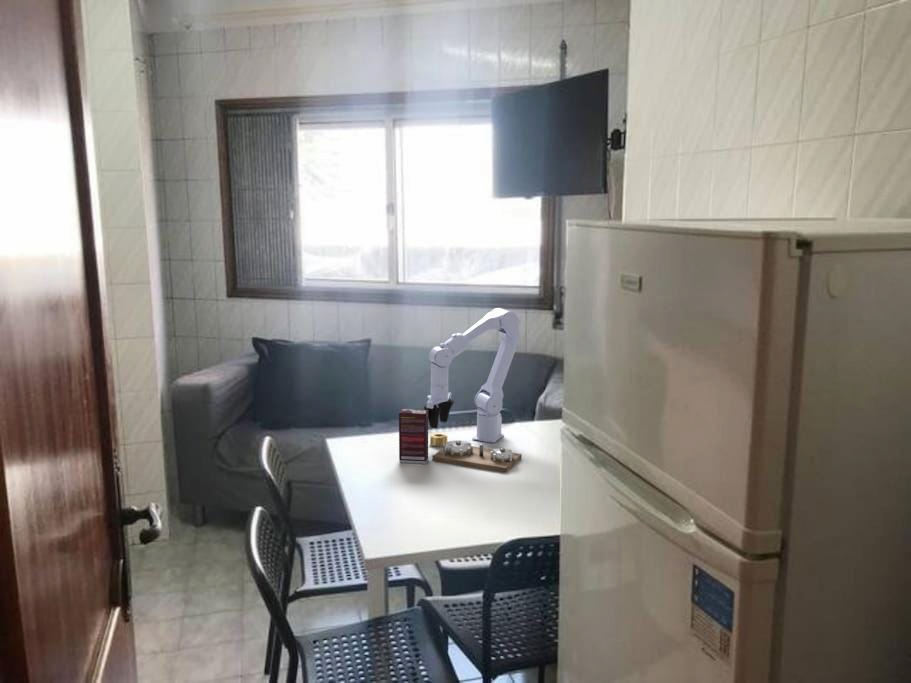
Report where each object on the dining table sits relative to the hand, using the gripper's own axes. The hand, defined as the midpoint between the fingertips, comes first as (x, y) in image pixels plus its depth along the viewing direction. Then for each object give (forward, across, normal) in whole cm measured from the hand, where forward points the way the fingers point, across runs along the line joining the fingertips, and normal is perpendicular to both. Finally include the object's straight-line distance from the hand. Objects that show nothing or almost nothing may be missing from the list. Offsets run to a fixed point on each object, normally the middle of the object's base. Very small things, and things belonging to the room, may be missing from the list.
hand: (438, 424), depth 246 cm
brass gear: (+7, 0, 0) cm, 7 cm away
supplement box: (+7, +18, 0) cm, 19 cm away
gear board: (+7, +8, +17) cm, 20 cm away
